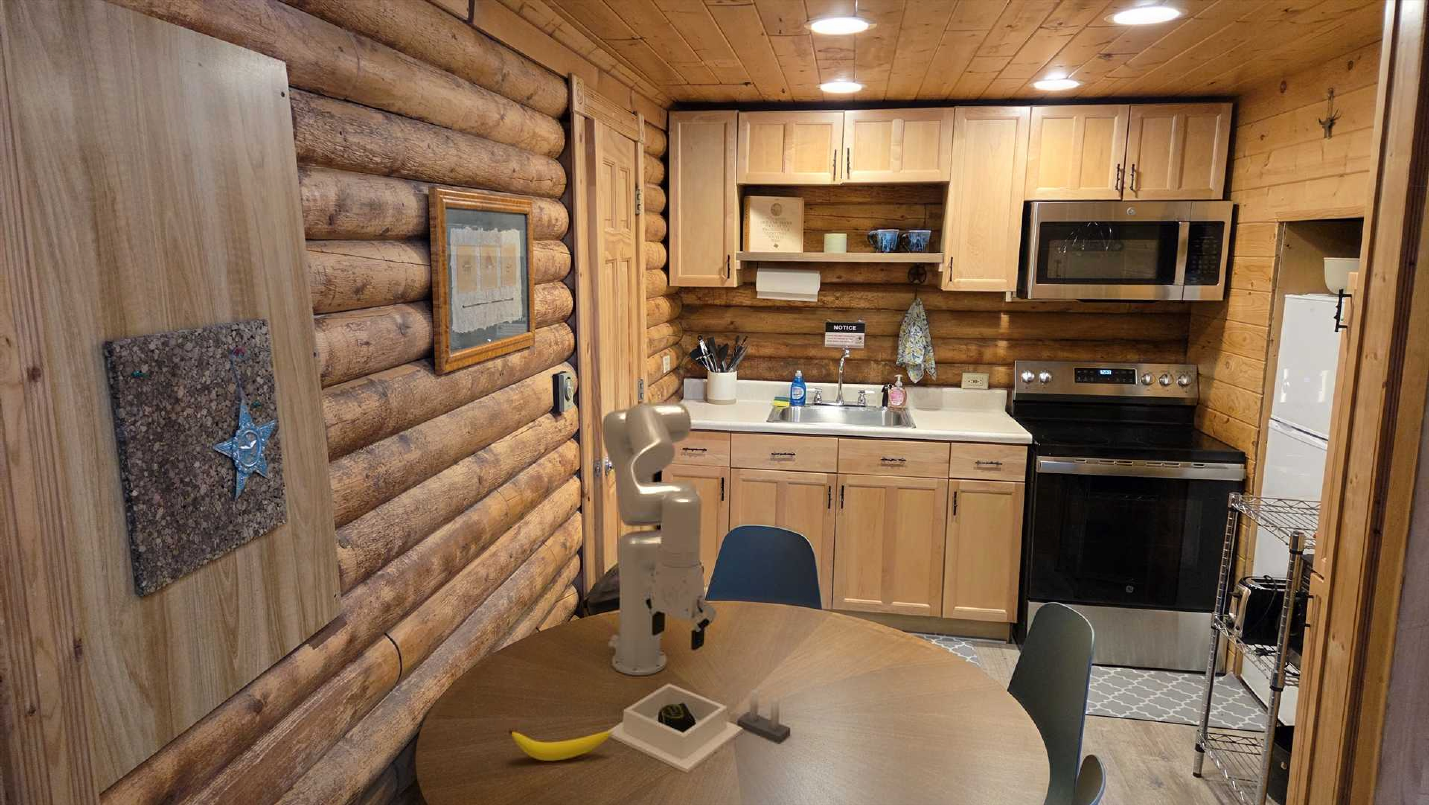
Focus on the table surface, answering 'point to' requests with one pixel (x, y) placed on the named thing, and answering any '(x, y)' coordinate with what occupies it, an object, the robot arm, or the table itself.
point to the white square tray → (670, 743)
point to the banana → (559, 746)
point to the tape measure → (676, 717)
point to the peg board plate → (764, 721)
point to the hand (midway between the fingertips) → (677, 640)
